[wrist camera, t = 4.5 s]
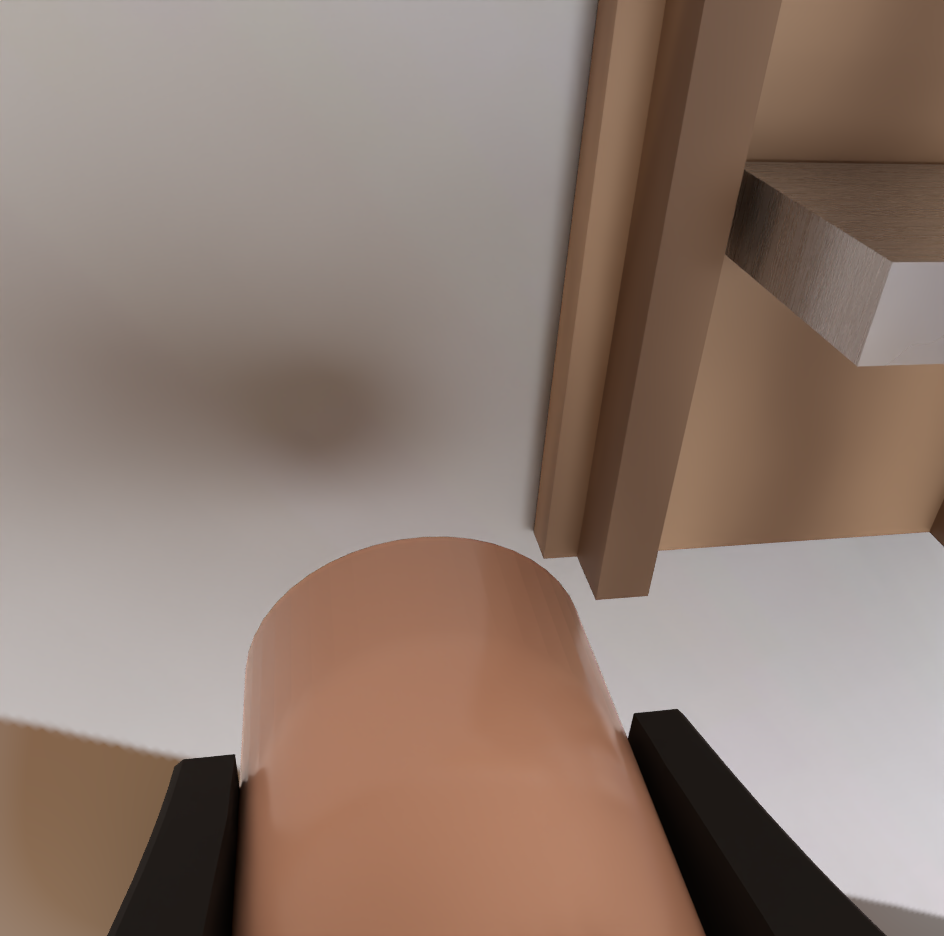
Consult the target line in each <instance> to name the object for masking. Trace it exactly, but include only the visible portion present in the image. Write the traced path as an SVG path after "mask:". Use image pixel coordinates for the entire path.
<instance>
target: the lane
mask: <svg viewBox="0 0 944 936" xmlns="http://www.w3.org/2000/svg"><path fill="white" fill-rule="evenodd" d="M746 161H750V162H816V163H883V164H944V0H599V1H598V9H597V17H596V26H595V34H594V42H593V50H592V58H591V67H590V75H589V83H588V91H587V99H586V108H585V116H584V124H583V132H582V140H581V148H580V157H579V165H578V173H577V181H576V189H575V198H574V206H573V214H572V222H571V230H570V238H569V247H568V255H567V263H566V271H565V279H564V288H563V296H562V304H561V312H560V320H559V329H558V337H557V345H556V353H555V361H554V369H553V378H552V386H551V394H550V402H549V410H548V419H547V427H546V435H545V443H544V451H543V459H542V468H541V476H540V484H539V492H538V500H537V509H536V517H535V525H534V534H535V537H536V540H537V542H538V545H539V548H540V550H541V553H542V555H543V558H544V559H545V558H560V557H574V556H577V557H578V560H579V562H580V564H581V567H582V569H583V571H584V574H585V576H586V578H587V581H588V583H589V585H590V588H591V590H592V592H593V595H594V597H595V599H596V600H601V599H613V598H626V597H639V596H648V593H649V589H650V584H651V580H652V575H653V571H654V567H655V562H656V558H657V553H658V551H660V550H675V549H689V548H704V547H718V546H732V545H747V544H761V543H776V542H790V541H804V540H819V539H833V538H848V537H862V536H877V535H891V534H905V533H920V532H930V533H931V534H932V535H933V536H934V537H935V538H936V539H937V540H938V541H939V542H940V543H941V544H942V545H943V546H944V364H921V365H889V366H856V365H855V364H854V363H853V362H851V361H850V360H849V359H848V358H847V357H846V356H844V355H843V354H842V353H841V352H840V351H838V350H837V349H836V348H835V347H834V346H833V345H831V344H830V343H829V342H828V341H827V340H825V339H824V338H823V337H822V336H821V335H820V334H818V333H817V332H816V331H815V330H814V329H812V328H811V327H810V326H809V325H808V324H807V323H805V322H804V321H803V320H802V319H801V318H799V317H798V316H797V315H796V314H795V313H794V312H792V311H791V310H790V309H789V308H788V307H787V306H785V305H784V304H783V303H782V302H781V301H779V300H778V299H777V298H776V297H775V296H774V295H772V294H771V293H770V292H769V291H768V290H766V289H765V288H764V287H763V286H762V285H761V284H759V283H758V282H757V281H756V280H755V279H753V278H752V277H751V276H750V275H749V274H748V273H746V272H745V271H744V270H743V269H742V268H740V267H739V266H738V265H737V264H736V263H735V262H733V261H732V260H731V259H730V258H729V257H727V256H726V255H725V252H726V247H727V243H728V238H729V234H730V229H731V225H732V220H733V216H734V212H735V207H736V203H737V198H738V194H739V189H740V185H741V181H742V176H743V172H744V167H745V163H746Z"/></svg>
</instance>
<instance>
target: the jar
mask: <svg viewBox="0 0 944 936" xmlns="http://www.w3.org/2000/svg"><path fill="white" fill-rule="evenodd" d="M239 787H240V790H239V809H238V827H237V846H236V864H235V880H234V899H233V918H232V936H706V934H705V932H704V929H703V927H702V924H701V922H700V919H699V917H698V914H697V912H696V909H695V907H694V904H693V902H692V899H691V897H690V894H689V892H688V889H687V887H686V884H685V882H684V879H683V876H682V874H681V871H680V869H679V866H678V864H677V861H676V859H675V856H674V854H673V851H672V849H671V846H670V844H669V841H668V839H667V836H666V834H665V831H664V829H663V826H662V824H661V821H660V819H659V816H658V814H657V811H656V809H655V806H654V804H653V801H652V799H651V796H650V794H649V791H648V789H647V786H646V784H645V781H644V779H643V776H642V774H641V771H640V769H639V766H638V764H637V761H636V759H635V756H634V754H633V751H632V748H631V746H630V743H629V741H628V738H627V736H626V733H625V731H624V728H623V726H622V723H621V721H620V718H619V716H618V713H617V711H616V708H615V706H614V703H613V701H612V698H611V696H610V693H609V691H608V688H607V686H606V683H605V681H604V678H603V676H602V673H601V671H600V668H599V666H598V663H597V661H596V658H595V656H594V653H593V651H592V648H591V646H590V643H589V641H588V638H587V636H586V633H585V631H584V628H583V625H582V623H581V620H580V618H579V615H578V613H577V610H576V608H575V606H574V604H573V602H572V600H571V598H570V596H569V595H568V593H567V592H566V591H565V589H564V588H563V587H562V585H561V584H560V583H559V582H558V581H557V580H556V579H555V578H554V577H553V576H552V575H551V574H550V573H549V572H548V571H547V570H546V569H544V568H543V567H541V566H540V565H538V564H537V563H535V562H534V561H533V560H531V559H529V558H527V557H525V556H523V555H521V554H519V553H517V552H515V551H513V550H510V549H507V548H504V547H501V546H498V545H496V544H492V543H488V542H483V541H478V540H473V539H466V538H456V537H419V538H411V539H402V540H396V541H391V542H387V543H382V544H378V545H374V546H371V547H368V548H365V549H362V550H359V551H356V552H353V553H350V554H348V555H346V556H343V557H341V558H339V559H337V560H334V561H332V562H330V563H328V564H326V565H325V566H323V567H321V568H320V569H318V570H316V571H315V572H313V573H311V574H309V575H308V576H307V577H305V578H304V579H303V580H301V581H300V582H299V583H298V584H296V585H295V586H294V587H292V588H291V589H290V590H289V591H288V592H287V593H286V594H285V595H284V596H283V597H282V598H281V599H280V600H279V601H278V602H277V603H276V604H275V605H274V606H273V608H272V609H271V610H270V611H269V613H268V614H267V615H266V617H265V618H264V619H263V621H262V623H261V625H260V626H259V628H258V630H257V632H256V634H255V635H254V638H253V641H252V644H251V646H250V649H249V652H248V658H247V664H246V671H245V690H244V709H243V728H242V747H241V766H240V785H239Z"/></svg>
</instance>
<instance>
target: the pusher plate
mask: <svg viewBox="0 0 944 936" xmlns="http://www.w3.org/2000/svg"><path fill="white" fill-rule="evenodd" d="M725 255H726V256H727V257H729V258H730V259H731V260H732V261H733V262H735V263H736V264H737V265H738V266H739V267H740V268H742V269H743V270H744V271H745V272H746V273H748V274H749V275H750V276H751V277H752V278H753V279H755V280H756V281H757V282H758V283H759V284H761V285H762V286H763V287H764V288H765V289H766V290H768V291H769V292H770V293H771V294H772V295H774V296H775V297H776V298H777V299H778V300H779V301H781V302H782V303H783V304H784V305H785V306H787V307H788V308H789V309H790V310H791V311H792V312H794V313H795V314H796V315H797V316H798V317H799V318H801V319H802V320H803V321H804V322H805V323H807V324H808V325H809V326H810V327H811V328H812V329H814V330H815V331H816V332H817V333H818V334H820V335H821V336H822V337H823V338H824V339H825V340H827V341H828V342H829V343H830V344H831V345H833V346H834V347H835V348H836V349H837V350H838V351H840V352H841V353H842V354H843V355H844V356H846V357H847V358H848V359H849V360H850V361H851V362H853V363H854V364H855V365H856V366H889V365H921V364H944V164H883V163H816V162H750V161H746V163H745V167H744V172H743V176H742V181H741V185H740V189H739V194H738V198H737V203H736V207H735V212H734V216H733V220H732V225H731V229H730V234H729V238H728V243H727V247H726V252H725Z"/></svg>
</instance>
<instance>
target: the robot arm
mask: <svg viewBox="0 0 944 936" xmlns="http://www.w3.org/2000/svg"><path fill="white" fill-rule="evenodd" d="M628 741H629V743H630V746H631V748H632V751H633V754H634V756H635V759H636V761H637V764H638V766H639V769H640V771H641V774H642V776H643V779H644V781H645V784H646V786H647V789H648V791H649V794H650V796H651V799H652V801H653V804H654V806H655V809H656V811H657V814H658V816H659V819H660V821H661V824H662V826H663V829H664V831H665V834H666V836H667V839H668V841H669V844H670V846H671V849H672V851H673V854H674V856H675V859H676V861H677V864H678V866H679V869H680V871H681V874H682V876H683V879H684V882H685V884H686V887H687V889H688V892H689V894H690V897H691V899H692V902H693V904H694V907H695V909H696V912H697V914H698V917H699V919H700V922H701V924H702V927H703V929H704V932H705V934H706V936H886V935H885V934H884V933H883V932H882V931H881V930H880V929H879V928H878V927H877V926H876V925H875V924H874V923H873V922H872V921H871V920H870V919H869V918H868V917H867V916H866V915H865V914H864V913H863V912H862V911H861V910H860V909H859V908H858V907H857V906H856V905H855V904H854V903H853V902H851V900H850V899H849V898H848V897H847V896H846V895H845V894H844V893H843V892H842V891H841V890H840V889H839V888H838V887H837V886H836V885H835V884H834V883H833V882H832V881H831V880H830V879H829V878H828V877H827V876H826V875H825V874H824V873H823V872H822V871H821V870H820V869H819V868H818V867H817V866H816V865H815V864H814V863H813V861H812V860H811V859H810V858H809V857H808V856H807V855H806V854H805V853H804V852H803V851H802V850H801V849H800V847H799V846H798V845H797V844H796V843H795V842H794V841H793V840H792V839H791V838H790V837H789V836H788V834H787V833H786V832H785V831H784V830H783V829H782V828H781V827H780V826H779V825H778V824H777V823H776V822H775V820H774V819H773V818H772V817H771V816H770V815H769V814H768V813H767V811H766V810H765V809H764V808H763V807H762V806H761V805H760V804H759V803H758V801H757V800H756V799H755V798H754V797H753V796H752V795H751V793H750V792H749V791H748V790H747V789H746V788H745V786H744V785H743V784H742V783H741V782H740V781H739V780H738V778H737V777H736V776H735V775H734V774H733V773H732V771H731V770H730V769H729V768H728V767H727V766H726V764H725V763H724V762H723V761H722V760H721V759H720V757H719V756H718V755H717V754H716V753H715V751H714V750H713V749H712V748H711V747H710V746H709V744H708V743H707V742H706V741H705V740H704V738H703V737H702V736H701V735H700V734H699V732H698V731H697V730H696V729H695V728H694V726H693V725H692V724H691V723H690V722H689V720H688V719H687V718H686V717H685V716H684V715H683V714H682V713H681V712H680V711H679V710H678V709H672V710H662V711H652V712H643V713H634V715H633V719H632V724H631V728H630V732H629V736H628ZM239 790H240V787H239V780H238V773H237V766H236V759H235V754H232V755H223V756H213V757H203V758H193V759H184V760H182V761H181V762H180V763H178V764H177V765H176V766H175V767H174V770H173V774H172V777H171V780H170V784H169V787H168V790H167V793H166V796H165V799H164V802H163V805H162V808H161V810H160V813H159V816H158V819H157V821H156V824H155V827H154V829H153V832H152V835H151V837H150V840H149V842H148V844H147V847H146V849H145V852H144V854H143V857H142V859H141V861H140V864H139V866H138V869H137V871H136V873H135V876H134V878H133V881H132V883H131V885H130V887H129V889H128V891H127V894H126V896H125V898H124V900H123V902H122V905H121V907H120V909H119V911H118V914H117V916H116V918H115V920H114V922H113V924H112V926H111V929H110V931H109V933H108V935H107V936H232V918H233V899H234V880H235V864H236V846H237V827H238V809H239Z"/></svg>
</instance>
